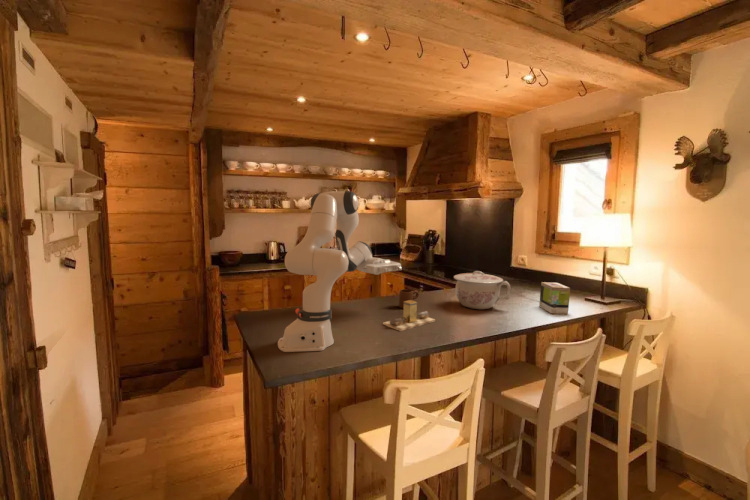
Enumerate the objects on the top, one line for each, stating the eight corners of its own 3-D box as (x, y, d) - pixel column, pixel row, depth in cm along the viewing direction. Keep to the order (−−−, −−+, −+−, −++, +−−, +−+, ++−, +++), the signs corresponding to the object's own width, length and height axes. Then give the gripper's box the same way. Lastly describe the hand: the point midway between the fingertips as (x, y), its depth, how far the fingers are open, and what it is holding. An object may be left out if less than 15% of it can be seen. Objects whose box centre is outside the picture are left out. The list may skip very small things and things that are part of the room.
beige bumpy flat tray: (400, 331, 168) (400, 323, 168) (383, 324, 178) (383, 316, 177) (435, 321, 184) (435, 313, 184) (417, 315, 193) (417, 308, 193)
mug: (414, 304, 216) (415, 288, 215) (421, 307, 209) (422, 291, 208) (396, 306, 211) (396, 289, 210) (402, 309, 204) (403, 292, 203)
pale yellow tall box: (409, 322, 177) (410, 303, 176) (403, 320, 181) (403, 301, 180) (416, 321, 180) (416, 301, 179) (409, 318, 184) (410, 300, 183)
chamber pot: (442, 302, 220) (444, 268, 218) (479, 298, 232) (481, 266, 229) (473, 315, 195) (475, 276, 192) (513, 310, 206) (515, 273, 204)
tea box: (568, 314, 202) (571, 287, 200) (550, 313, 202) (552, 287, 200) (556, 306, 216) (558, 281, 215) (538, 306, 217) (540, 281, 215)
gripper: (360, 261, 190) (378, 264, 180) (390, 259, 203) (408, 262, 193) (360, 273, 191) (378, 277, 180) (390, 270, 204) (407, 274, 194)
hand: (394, 269), depth 187 cm, fingers open, 8 cm apart
